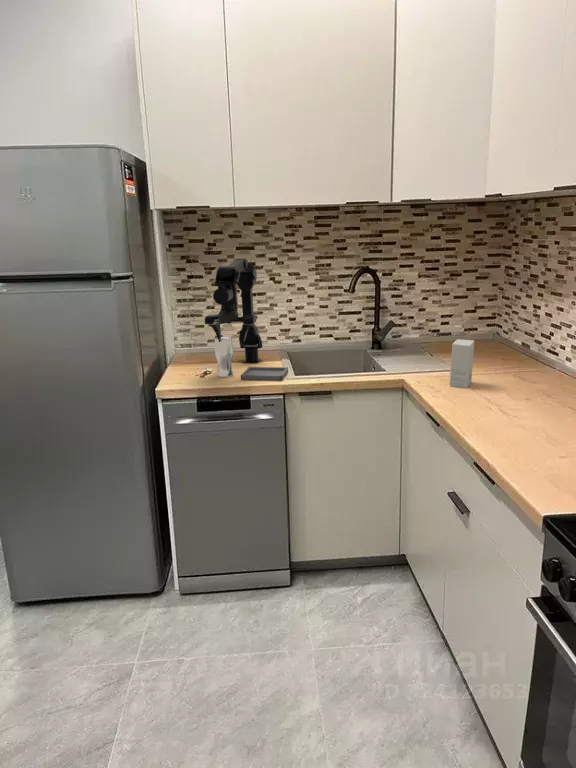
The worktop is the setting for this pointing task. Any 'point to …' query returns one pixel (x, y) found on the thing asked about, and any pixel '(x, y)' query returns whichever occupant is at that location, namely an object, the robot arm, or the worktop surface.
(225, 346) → the beer glass
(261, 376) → the drip tray
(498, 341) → the worktop surface
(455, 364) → the skincare box
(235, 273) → the robot arm
